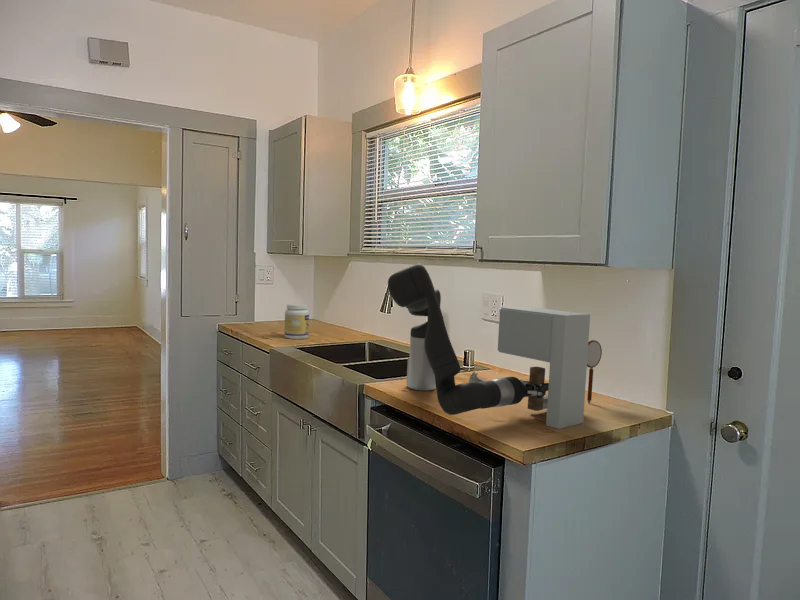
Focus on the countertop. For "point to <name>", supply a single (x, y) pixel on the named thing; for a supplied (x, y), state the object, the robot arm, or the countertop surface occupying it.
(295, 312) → the supplement tub
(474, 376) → the caliper
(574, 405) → the grey inverted l-bracket
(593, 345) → the magnifying glass
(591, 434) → the countertop surface
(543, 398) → the tall wooden block
